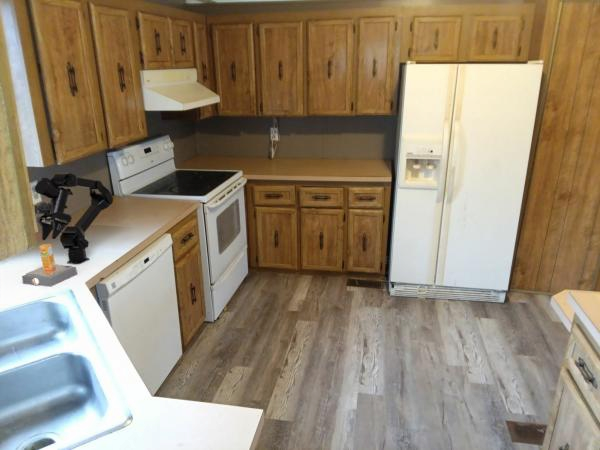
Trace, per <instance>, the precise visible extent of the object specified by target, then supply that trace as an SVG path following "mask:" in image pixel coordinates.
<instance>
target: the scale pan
mask: <svg viewBox="0 0 600 450" xmlns="http://www.w3.org/2000/svg"><path fill="white" fill-rule="evenodd" d="M55 266H56V268H55V269H53V270H51V271H44V270H43V266H40V267H38V268H36V269H34V270H30V271H29V272H26V273H25V275H27V276H37V277H47V278H50V277H53V276H55V275H57V274H59V273H62V272H64V271H66V270H68V269H71V268H72V267H73V266H72V265H64V264H56V263H55Z"/></svg>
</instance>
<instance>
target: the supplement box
mask: <svg viewBox="0 0 600 450" xmlns="http://www.w3.org/2000/svg"><path fill="white" fill-rule="evenodd" d="M38 247H39V252H40V257H41V262H42V263H41V264H42V267H43V270H44V271H51V270H53V269H55V268H56V266H55V264H56V263H55V256H54V251H53V246H52V243H42V244H41V245H39V246H38Z"/></svg>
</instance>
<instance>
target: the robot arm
mask: <svg viewBox="0 0 600 450" xmlns="http://www.w3.org/2000/svg"><path fill="white" fill-rule="evenodd" d="M73 187H77V188H85V189H89V197H90V198H91V199H90V205H89V207H88V208H87V209H86V210H85V212H84V213H83V215H82V216H80V218H79V219H78V220H77V222H76V223H75V224H74V225H73V226H72V225H71V226H70V225H69V224H70V223H71V222H72V219H73V217H72V216H71V214H68V213H65V210H67V209H68V205H67V202H68V198H69V196H73V195H74V193H73V191H72V190H71V189H70V188H73ZM34 190H35V193H36V194H39V195H41V196H43V197H45V198H48V199H50V202H48V203H47V202H45V201H44V202H40V203H39V205H34V206H35V213H36V214H35V215H38V216H37V218H36V220H37V221H36V222H37V224H38V225H39V226H40V227H41V240H42V241H46V240H47V239H48V237H49V235H50V234H51V239H52V240H55V239H56V238H57V237H58V236H59V235H60V234H61V235H60V237H59V241H60V243H61V245H62V247H63V249H64V250H65V249H66V250H67V252H68V253H67V255H68V261H66V263H67V264H77V265H80V264H82V263H84V262H87V261H88V260H89V261H90V258H89V257H87V254H86V253H87V252H86V249H87V248H88V247H89V243H90V242H89V241H88V240H87V239H86V234H85V233H86V231H87V230H88V229H89V228H90V226H91V225H92V224H93V222H94V220H95V219H96V218H97V217H98V215H99V214H100V213H101V212H102V211H103V210H105V209H107V208H109V207H110V206H111V205H112V204H113V201H114V197H113V195H112V193H111V192H110V189H108V188H107V187H106V186H104V185H103V182H102V181H101V180H98V179H97V180H94V179H89V178H84V177H78V176H77V175H76V174H74V173H71V172H56V173H55V174H54V176H53V177H52V178H50V179H49V178H48V177H41V180H39V181H38V182H37V183H36V184H35V187H34ZM96 190H97V191H98V192H96ZM40 214H41V215H40ZM68 225H69V226H68Z"/></svg>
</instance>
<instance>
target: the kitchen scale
mask: <svg viewBox="0 0 600 450" xmlns="http://www.w3.org/2000/svg"><path fill="white" fill-rule="evenodd" d="M77 271H78V270H77V267H76V266H72V268H71V269H68V270H66V271H64V272H62V273H59V274H57V275H55V276H53V277H50V278H47V277H37V276H27V275H26V274H24V275H22V276H21V278H22V283H23V284H24V285H31V286H32V285H33V286H42V287H43V286H44V287H51V288H52V287H54V286H56V285H57V284H60V283H63V282H65V281H66V280H68V279H70V278H72V277H75V276H77V275H78V272H77Z"/></svg>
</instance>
